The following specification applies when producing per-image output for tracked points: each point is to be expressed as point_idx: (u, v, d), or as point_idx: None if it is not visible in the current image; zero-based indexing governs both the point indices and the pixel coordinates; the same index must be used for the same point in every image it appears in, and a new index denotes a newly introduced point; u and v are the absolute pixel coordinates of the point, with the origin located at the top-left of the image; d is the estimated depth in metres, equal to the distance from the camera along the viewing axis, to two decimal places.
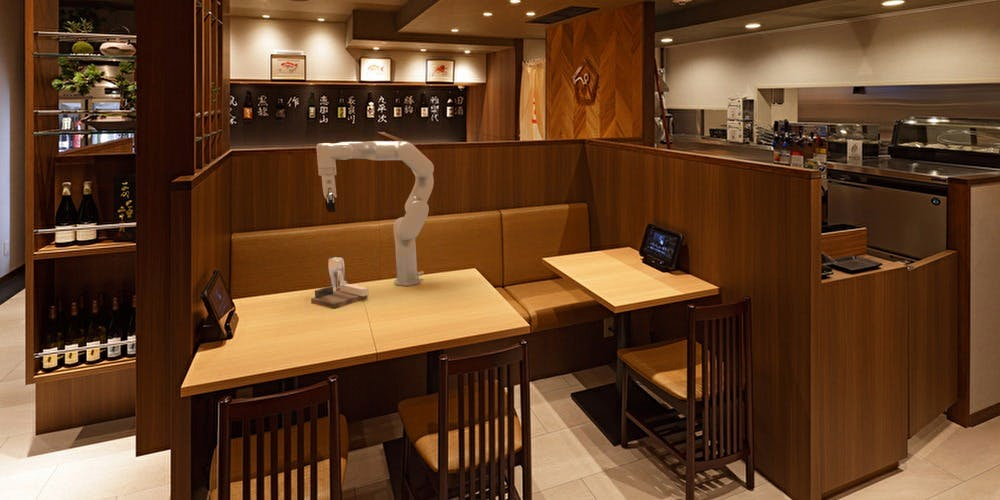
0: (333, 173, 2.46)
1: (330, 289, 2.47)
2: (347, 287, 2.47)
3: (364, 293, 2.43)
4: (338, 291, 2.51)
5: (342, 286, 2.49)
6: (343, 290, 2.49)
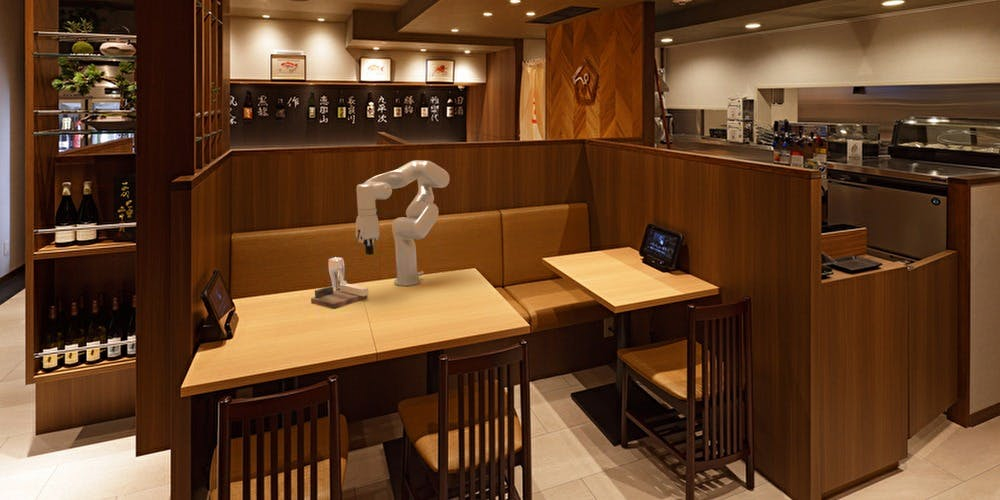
0: None
1: (330, 289, 2.47)
2: (347, 287, 2.47)
3: (364, 293, 2.43)
4: (338, 291, 2.51)
5: (342, 286, 2.49)
6: (343, 290, 2.49)
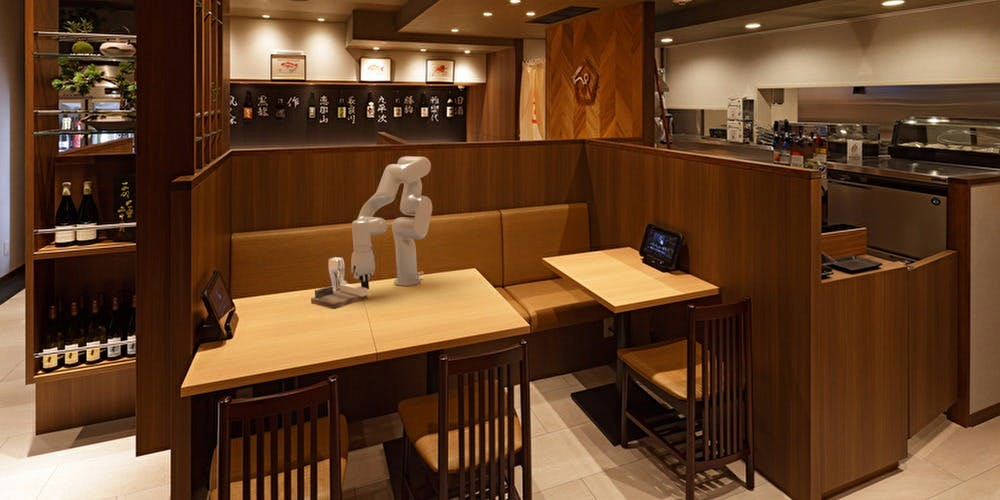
0: None
1: (330, 289, 2.47)
2: (347, 287, 2.47)
3: (364, 294, 2.43)
4: (338, 291, 2.51)
5: (342, 286, 2.49)
6: (343, 290, 2.49)
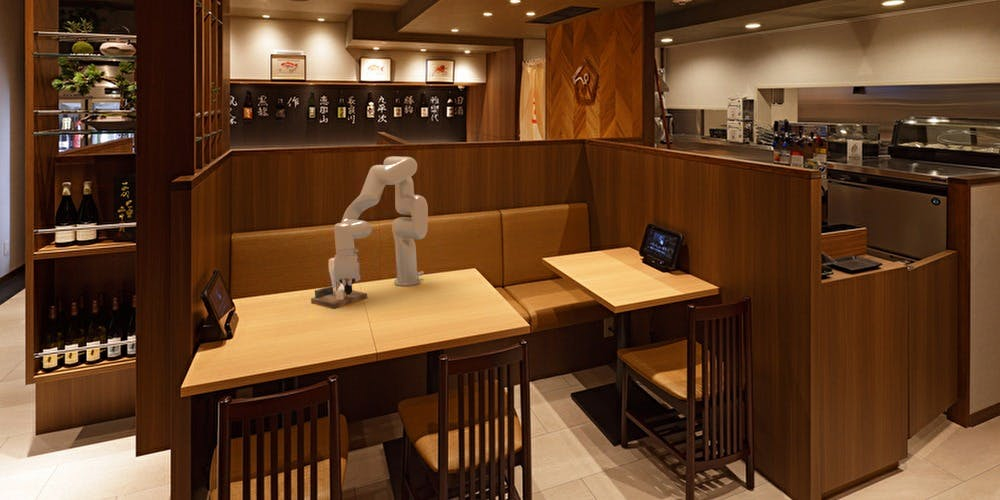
0: None
1: (330, 289, 2.47)
2: None
3: (338, 298, 2.38)
4: None
5: None
6: None
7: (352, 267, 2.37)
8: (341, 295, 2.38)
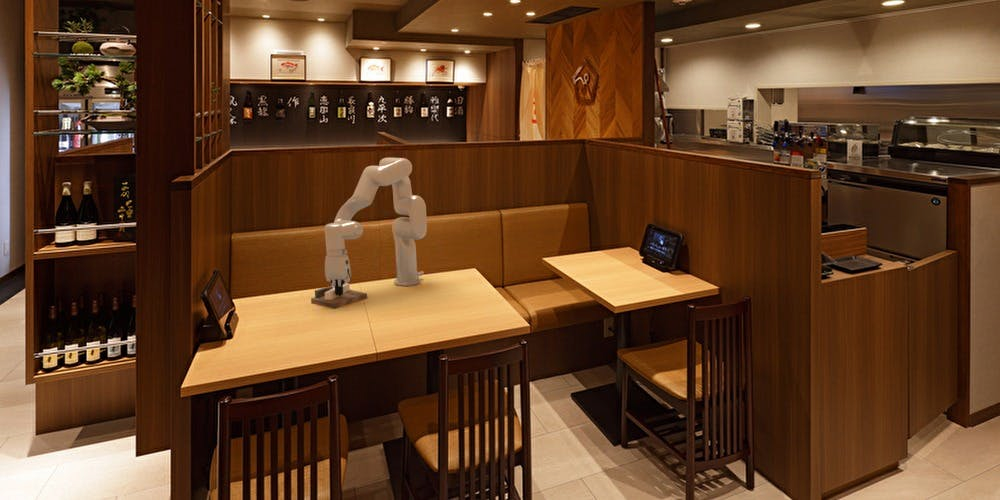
0: None
1: (330, 289, 2.47)
2: None
3: (327, 297, 2.38)
4: None
5: None
6: None
7: (340, 268, 2.35)
8: (329, 295, 2.38)
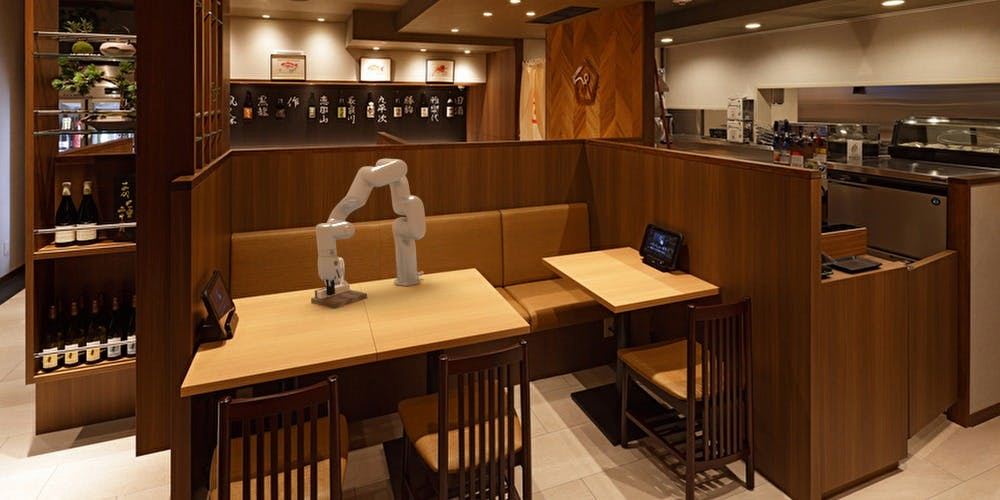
0: (336, 253, 2.38)
1: None
2: None
3: (318, 296, 2.41)
4: None
5: None
6: None
7: (328, 269, 2.35)
8: (320, 294, 2.40)
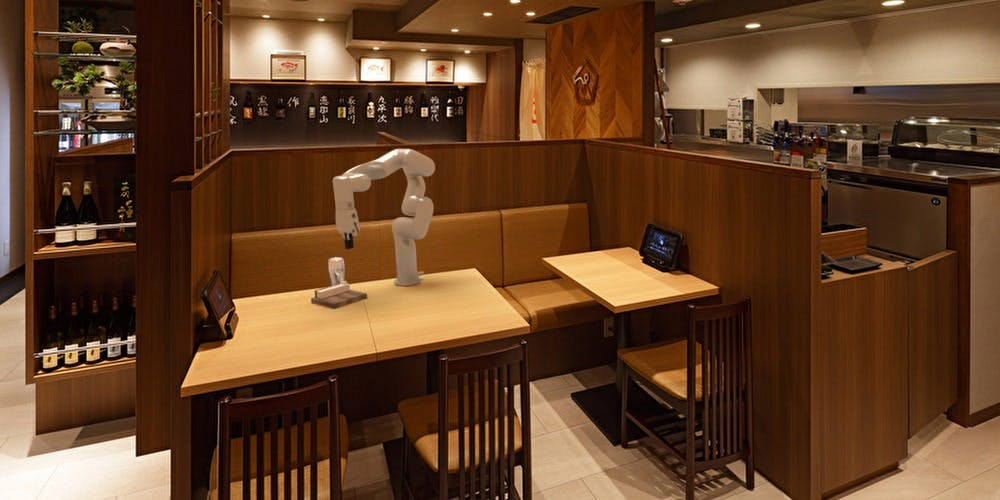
0: None
1: None
2: None
3: (318, 296, 2.41)
4: None
5: None
6: None
7: (346, 221, 2.33)
8: (320, 294, 2.40)
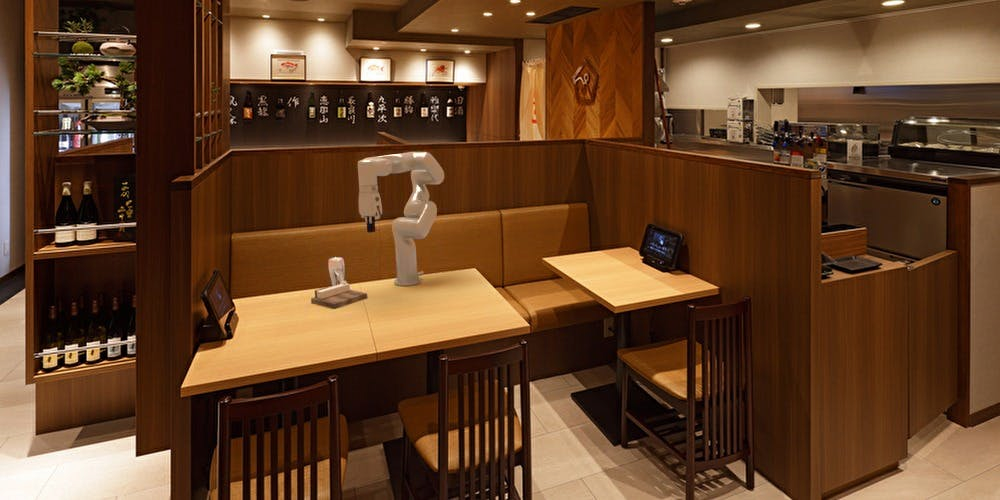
0: (377, 190, 2.39)
1: None
2: None
3: (318, 296, 2.41)
4: None
5: None
6: None
7: (370, 204, 2.37)
8: (320, 294, 2.40)
